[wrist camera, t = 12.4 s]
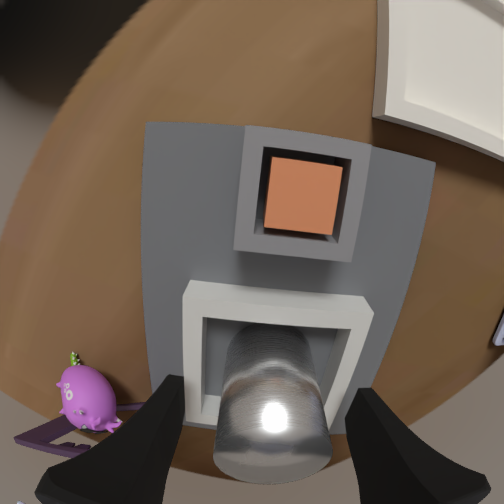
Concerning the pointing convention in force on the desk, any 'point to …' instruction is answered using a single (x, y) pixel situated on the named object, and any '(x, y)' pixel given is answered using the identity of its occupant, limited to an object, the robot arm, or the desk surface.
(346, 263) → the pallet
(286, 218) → the button
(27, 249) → the desk surface
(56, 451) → the eggplant monster toy
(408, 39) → the tray
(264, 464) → the cylinder
